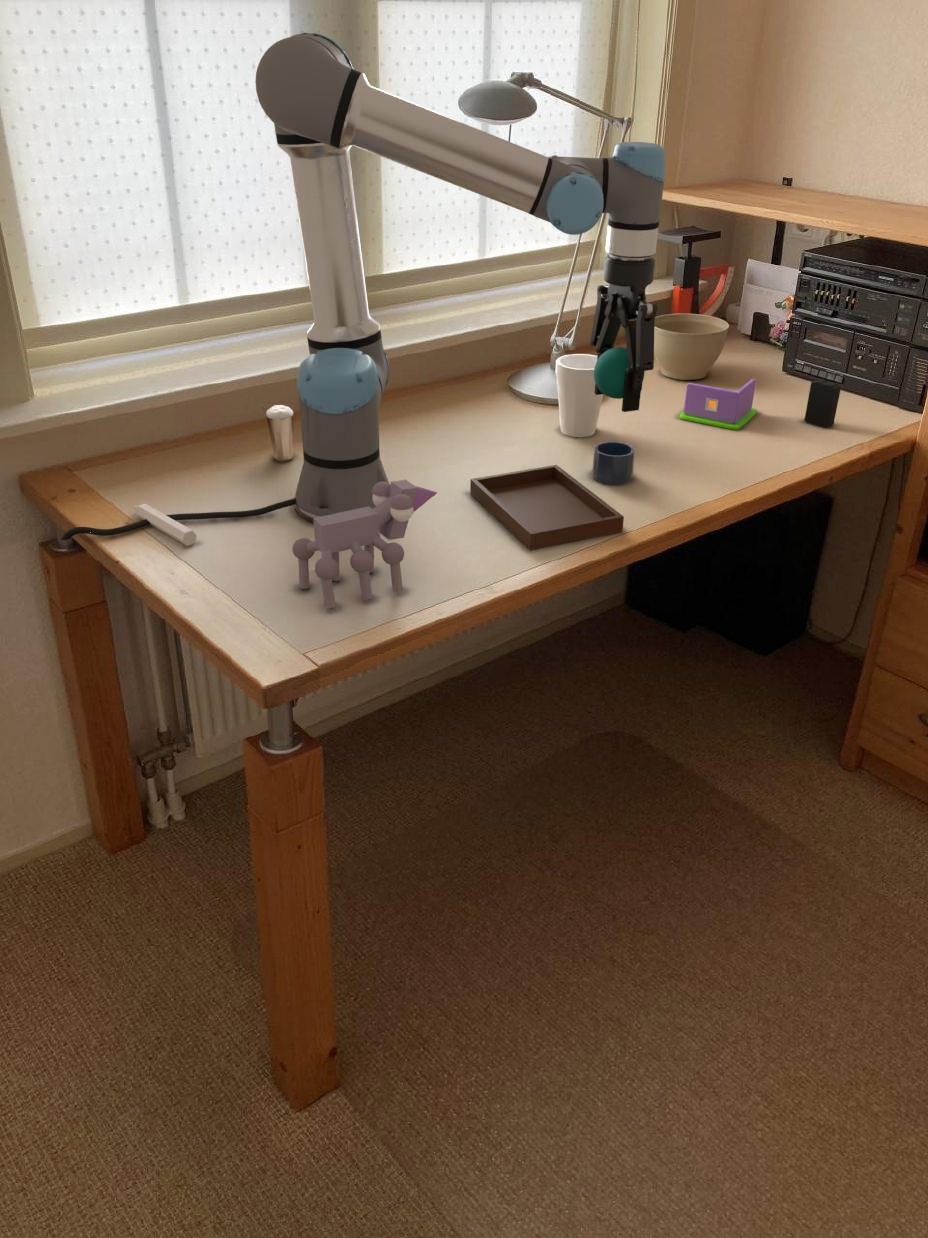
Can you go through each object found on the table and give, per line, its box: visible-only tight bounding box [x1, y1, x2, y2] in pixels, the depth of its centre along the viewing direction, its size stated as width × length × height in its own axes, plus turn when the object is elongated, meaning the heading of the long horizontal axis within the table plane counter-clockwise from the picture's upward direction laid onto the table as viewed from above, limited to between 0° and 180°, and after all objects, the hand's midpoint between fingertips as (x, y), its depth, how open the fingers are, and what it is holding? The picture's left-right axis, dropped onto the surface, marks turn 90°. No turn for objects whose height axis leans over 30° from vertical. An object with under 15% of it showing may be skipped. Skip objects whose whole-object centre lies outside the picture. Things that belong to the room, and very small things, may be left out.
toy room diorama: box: [679, 378, 758, 431], centre depth 202 cm, size 12×12×7 cm
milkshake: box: [260, 404, 294, 462], centre depth 181 cm, size 5×5×10 cm
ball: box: [594, 346, 646, 400], centre depth 168 cm, size 8×8×8 cm
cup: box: [592, 441, 636, 486], centre depth 176 cm, size 7×7×5 cm
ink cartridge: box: [803, 379, 842, 429], centre depth 198 cm, size 5×2×8 cm, turn 44°
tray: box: [469, 464, 625, 551], centre depth 165 cm, size 16×22×3 cm
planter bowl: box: [654, 313, 730, 381], centre depth 222 cm, size 16×16×11 cm
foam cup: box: [554, 353, 604, 438], centre depth 192 cm, size 10×9×13 cm
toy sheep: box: [291, 479, 438, 609], centre depth 142 cm, size 20×11×14 cm, turn 119°
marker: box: [133, 502, 198, 547], centre depth 159 cm, size 3×2×16 cm
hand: (616, 401), depth 171 cm, fingers closed on ball, 8 cm apart
